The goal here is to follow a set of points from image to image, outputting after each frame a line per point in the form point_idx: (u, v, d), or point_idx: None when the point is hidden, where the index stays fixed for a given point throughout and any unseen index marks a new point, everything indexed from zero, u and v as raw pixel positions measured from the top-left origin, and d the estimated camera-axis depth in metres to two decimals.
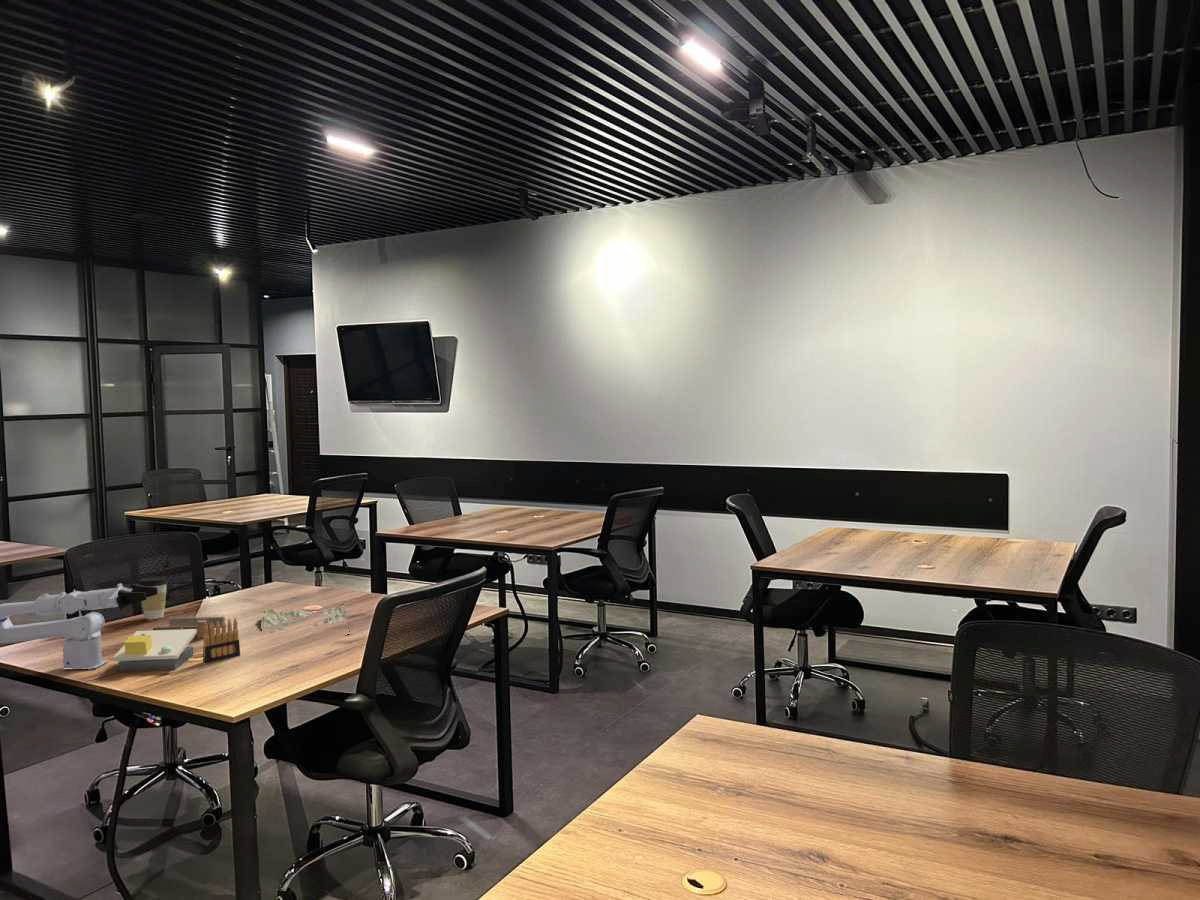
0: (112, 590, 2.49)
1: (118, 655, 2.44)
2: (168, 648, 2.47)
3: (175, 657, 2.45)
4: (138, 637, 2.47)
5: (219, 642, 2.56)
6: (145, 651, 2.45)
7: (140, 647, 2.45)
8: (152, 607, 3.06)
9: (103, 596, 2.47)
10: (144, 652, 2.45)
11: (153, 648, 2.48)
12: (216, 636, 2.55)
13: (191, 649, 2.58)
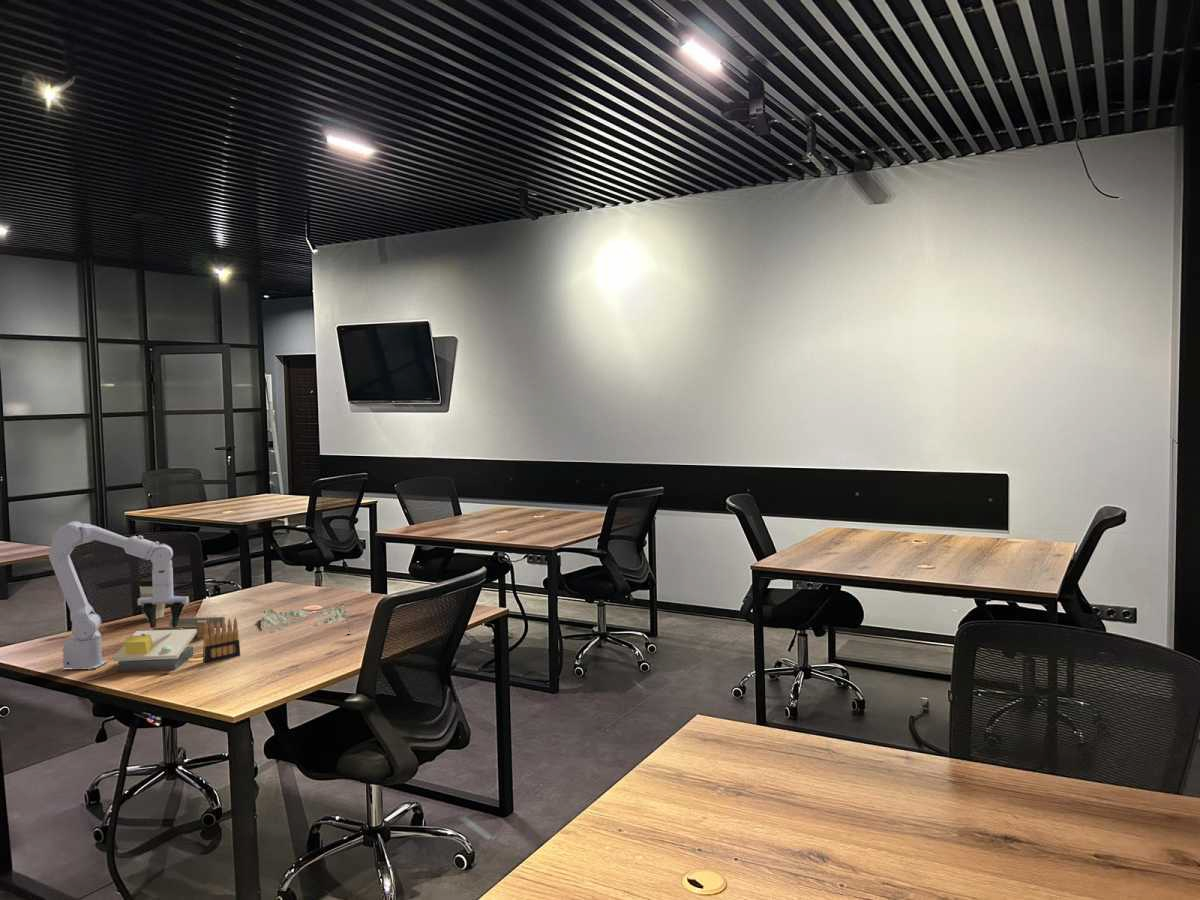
0: None
1: (118, 655, 2.44)
2: (168, 648, 2.47)
3: (175, 657, 2.45)
4: (138, 637, 2.47)
5: (219, 642, 2.56)
6: (145, 651, 2.45)
7: (140, 647, 2.45)
8: None
9: None
10: (144, 652, 2.45)
11: (153, 648, 2.48)
12: (216, 636, 2.55)
13: (191, 649, 2.58)
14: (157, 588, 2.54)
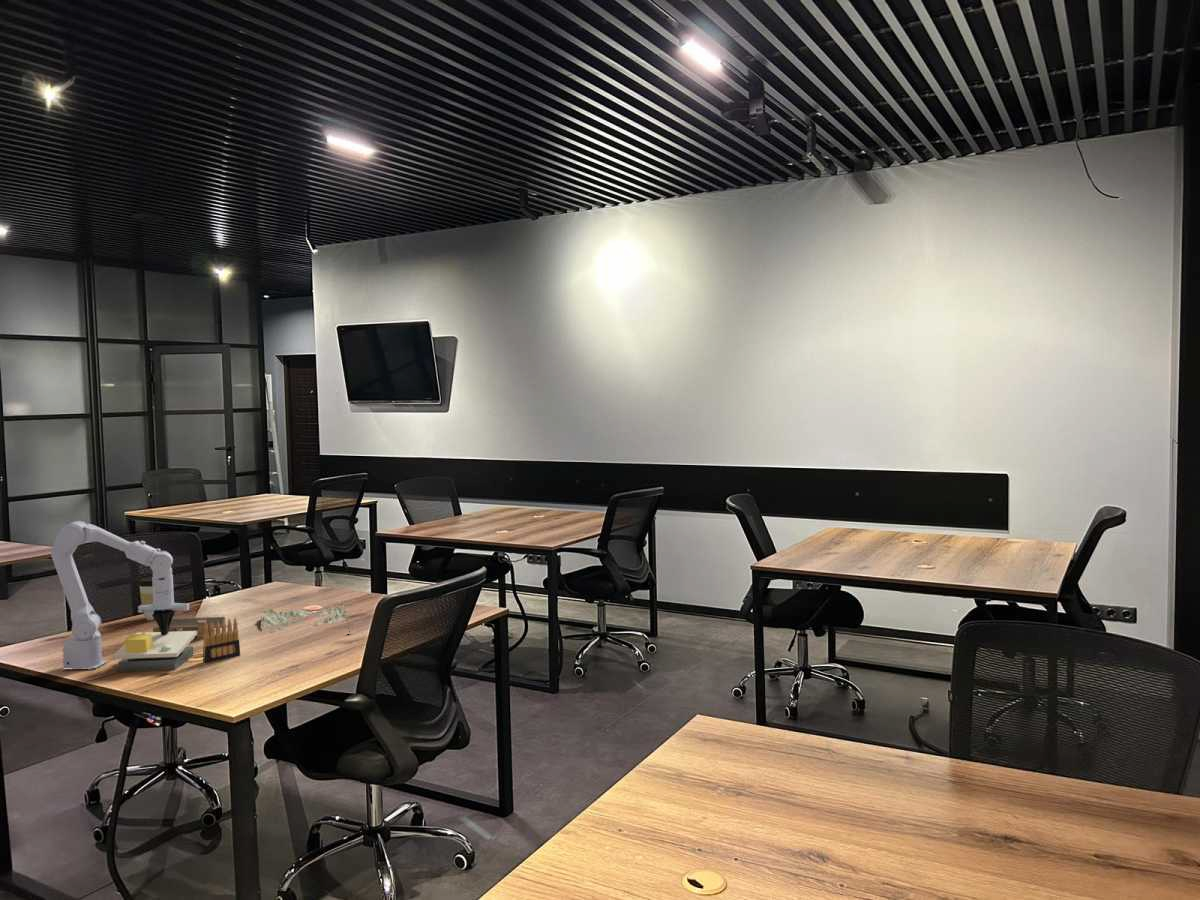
0: None
1: (118, 653, 2.44)
2: (168, 646, 2.47)
3: (175, 655, 2.45)
4: (139, 635, 2.47)
5: (219, 642, 2.56)
6: (145, 649, 2.45)
7: (140, 644, 2.45)
8: None
9: (173, 592, 2.59)
10: (144, 650, 2.45)
11: (153, 647, 2.48)
12: (216, 636, 2.55)
13: (191, 649, 2.58)
14: (157, 595, 2.54)
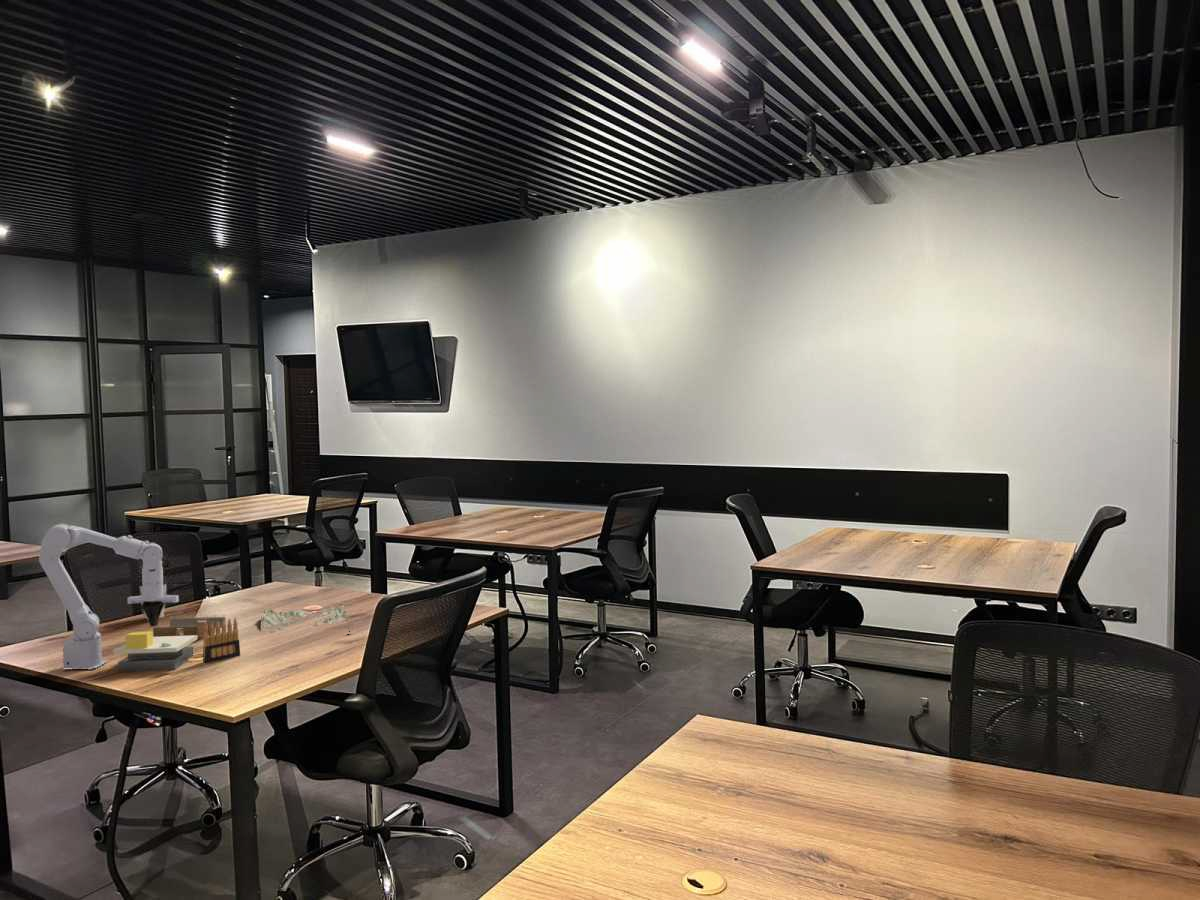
0: None
1: (118, 648, 2.44)
2: (168, 643, 2.47)
3: (175, 650, 2.45)
4: (140, 632, 2.48)
5: (219, 642, 2.56)
6: (145, 645, 2.45)
7: (141, 640, 2.45)
8: None
9: None
10: (144, 646, 2.45)
11: (153, 645, 2.49)
12: (216, 636, 2.55)
13: (191, 649, 2.58)
14: (147, 587, 2.55)
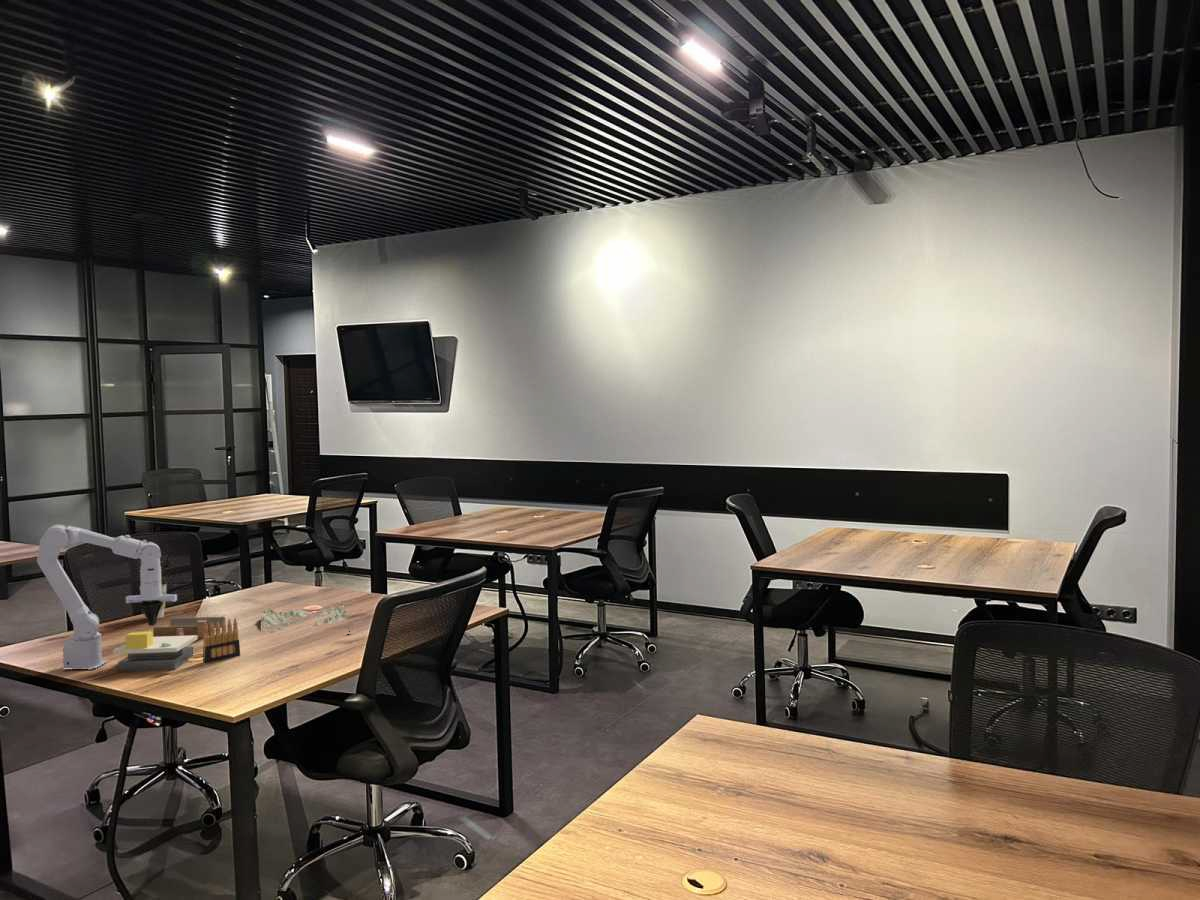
0: None
1: (118, 648, 2.44)
2: (168, 643, 2.47)
3: (175, 650, 2.45)
4: (140, 632, 2.48)
5: (219, 642, 2.56)
6: (145, 645, 2.45)
7: (141, 640, 2.45)
8: None
9: None
10: (144, 646, 2.45)
11: (153, 645, 2.49)
12: (216, 636, 2.55)
13: (191, 649, 2.58)
14: (145, 586, 2.55)
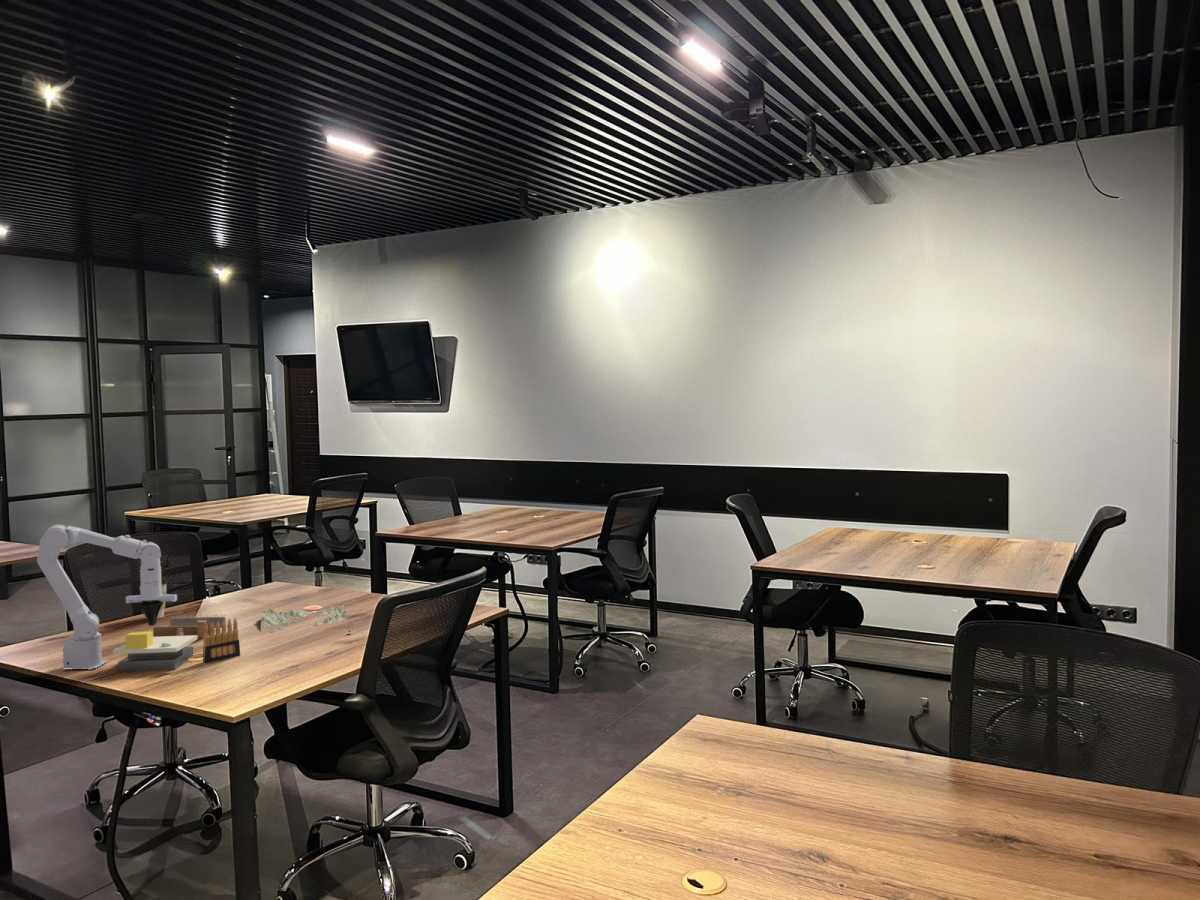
0: None
1: (118, 648, 2.44)
2: (168, 643, 2.47)
3: (175, 650, 2.45)
4: (140, 632, 2.48)
5: (219, 642, 2.56)
6: (145, 645, 2.45)
7: (141, 640, 2.45)
8: None
9: None
10: (144, 646, 2.45)
11: (153, 645, 2.49)
12: (216, 636, 2.55)
13: (191, 649, 2.58)
14: (145, 586, 2.55)
